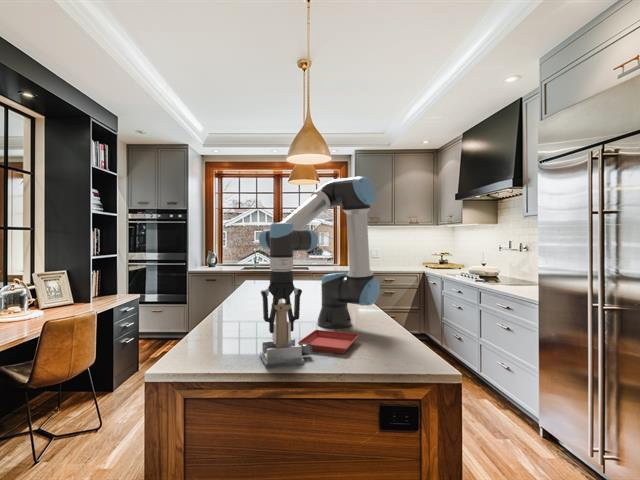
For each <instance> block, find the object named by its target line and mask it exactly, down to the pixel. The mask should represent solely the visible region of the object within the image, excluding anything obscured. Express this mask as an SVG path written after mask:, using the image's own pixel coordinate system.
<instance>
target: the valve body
mask: <svg viewBox="0 0 640 480" xmlns="http://www.w3.org/2000/svg"><path fill="white" fill-rule="evenodd" d="M261 347H262V349H261V350H262V351H260V352H259V357H260V358H261V360H262V362H263V365H264V366H265V368H266V369H271V368H272V369H273V368H279V367H280V368H281V367H288V366H298V365H305V359H304V358H303V357H305V356H306V357H307V356H312V355H313V351H312V345H311V344H303V345H299V344H298V345H296V339H295V338H291V342H290V343H288V342H287V347H280V348H276V347H277V345H276V344H274V343H273V342H272V340H265V341H262V342H261Z"/></svg>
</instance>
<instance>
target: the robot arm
mask: <svg viewBox="0 0 640 480" xmlns="http://www.w3.org/2000/svg"><path fill="white" fill-rule="evenodd" d="M375 199H376V189H375V186H374V184H373V182H372V181H371V180H370V178H369V177H366V176H352V177H343V178H335V179H332V180H330V181H327V182H326V183H324V184H322V185H321V186H320V187H318V188H317V189H316V190H314V191H313V192H312V193H311V195H310V198H308V199H307V200H306V201H305V202H304V203H302V204H301V205H300V206H299V207H297V208H296V209H295V210H294V211H292V212H291V213H290V214H288V215H287V216H286V217H285V218H284V219H282V220H281V221H280V222H272V223H271V224H270V228H267V229H263V230H262V231H261V232H260V234H259V235H258V236H259V237H258V242H259V245H260V246H261V248H263V249H264V250H269V269H270V271H269V286H268V287H267V288H266V289H263V290H262V289H261V291H260V295H261V297H262V310H263V315H262V316H263V317H262V318H263V320H264V322H265V323H269V324H268V325H269V326H268V329H269V330H268V332H269V333H270V334H272V335H271V336H272V339H271V341H272V342H273V343H274V344H276V310H275V308H274V305H278V303H280V300H284V303H286V304H291V305H292V303H291V297H290V296H291V295H292V293H293V294H294V302H293V304H294V305H293V308H292V306H291V308H290V309H289V310H287V319H288V320H287V329H288V338H287V342H288V343H290V342H291V339H292V338H291V332H294V331H295V329H294V326H295V325H294V323H295V321H297V320H299V319H300V307H301V306H300V305H301V295H302V293H303V290H302V289H301V288H297V287H295V285H294V271H293V269H294V252H308V251H312V250H314V249H316V248H317V246H318V243H319V237H318V236H319V235H318V234H317V233H316V232H315V230H313V229H309V228H305V227H306V226H308V225H309V224H310V223H311V222H312V221H314V220H315V219H316V218H317V217H318V216H319V215H320V214H321V213H322V212H327V211H328V210H329V209H331V208H334V207H335V208H336V207H341V208H342V209H341V210H342V211H343V212H344V214H345V215H346V233H347V247H348V250H347V251H348V265H349V270H348V272H336V273H335V272H334V273H328V274H323V275H322V277H321V283H320V285H321V308H320V312H319V314H318V318H317V325H318V326H320V327H323V328H327V329H343V328H348V327H351V326H352V318H351V314H350V312H349V308H348V304H351V305H352V304H353V305H358V306H362V307H363V306H368V307H369V306H373V304H375V303H376V301H377V300H378V297H379V295H380V291H381V285H380V284H381V283H380V282H379V280H378V279H377V278H375V275H374V272H373V271H372V270H371V267H370V265H371V264H370V248H369V230H368V228H369V227H368V226H369V225H368V213H369V211H370V209H371V205H372V204H373V203H374V202H375ZM270 294H271V296H272V303H271V305H272V304H273V309H272V306H271V308H270V313H269V298H268V297H269V295H270Z"/></svg>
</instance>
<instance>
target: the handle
mask: <svg viewBox="0 0 640 480" xmlns="http://www.w3.org/2000/svg"><path fill="white" fill-rule="evenodd" d="M271 307H272V309H273V304H272V303H271ZM291 307H292V303H291V304H286V303H285V302H278V305H274V308H275V310H276V315H275V323H276V345H277V347H276V348H280V347H287V338H288V329H287V321H288V313H287V310H289V309H290V308H291Z"/></svg>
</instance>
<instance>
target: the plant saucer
mask: <svg viewBox="0 0 640 480" xmlns="http://www.w3.org/2000/svg"><path fill="white" fill-rule="evenodd" d="M359 336H360V334H359V333H350V332H341V331H333V330H323V329H315V330H313V331H312V332H310V333H309V334H307V335H306V336H305V337H304V338H301V339H300V340H299V341H297V344H298V345H303V344H311V345H312V352H313V351H314V352H320V353H328V354H329V353H330V354H337V355H344V354H345V353H346V352H347V350H349V349H350V347H351V346H352V345H353V344H354V343H355V342H356V341H357V339H358V338H359Z"/></svg>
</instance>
